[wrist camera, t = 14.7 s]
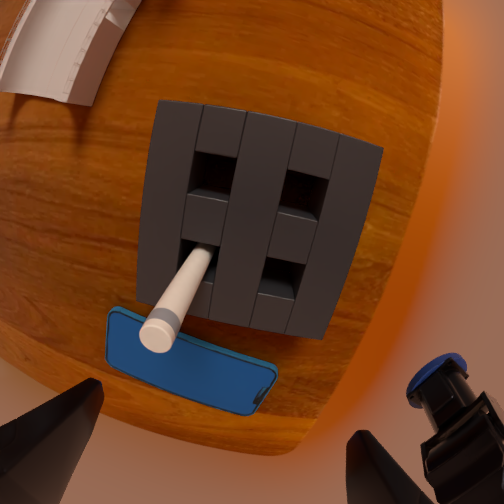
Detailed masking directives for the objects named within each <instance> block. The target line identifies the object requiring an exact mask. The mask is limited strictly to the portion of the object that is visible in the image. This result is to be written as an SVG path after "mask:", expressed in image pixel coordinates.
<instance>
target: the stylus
mask: <svg viewBox="0 0 504 504" xmlns="http://www.w3.org/2000/svg"><path fill="white" fill-rule="evenodd" d="M216 248H217V246H215V245H210V244H205V243H200V242H198V243H197V245H196V246H195V248H194V249H193V251H192V252H191V254H190V255H189V256H188V258H187V259H186V261H185V262H184V264H183V265H182V267H181V268H180V270H179V271H178V273H177V274H176V276H175V277H174V279H173V280H172V282H171V283H170V285H169V286H168V288H167V289H166V291H165V292H164V294H163V295H162V297H161V298H160V300H159V301H158V303H157V304H156V306H155V307H154V309H153V310H152V311H151V313H150V314H149V316H148V317H147V319H146V320H145V322H144V324H143V326H142V328H141V329H140V332H139V337H140V340H141V342H142V344H143V345H144V346H145V347H146V348H147V349H149V350H151V351H153V352H156V353H164V352H167V351H168V350H169V349H170V348H171V347H172V344H173V342H174V341H175V339H176V337H177V334H178V332H179V330H180V326H181V324H182V322H183V319H184V317H185V315H186V313H187V311H188V308H189V306H190V304H191V302H192V300H193V297H194V295H195V293H196V291H197V289H198V287H199V284H200V282H201V280H202V278H203V276H204V274H205V272H206V269H207V267H208V265H209V263H210V261H211V259H212V257H213V255H214V253H215V250H216Z"/></svg>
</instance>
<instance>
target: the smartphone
mask: <svg viewBox="0 0 504 504" xmlns="http://www.w3.org/2000/svg"><path fill="white" fill-rule="evenodd" d="M146 319H147V318H145V317H143V316H140V315H138V314H136V313H134V312H131V311H129V310H127V309H125V308H123V307H120V306H116V307H114V308H112V309H111V311H110V312H109V313H108V316H107V329H106V347H105V359H106V361H107V363H108V364H109V365H110V366H111V367H113V368H114V369H117V370H119V371H121V372H123V373H125V374H127V375H129V376H132V377H134V378H136V379H138V380H141V381H143V382H145V383H148V384H150V385H152V386H155V387H157V388H160V389H162V390H165V391H167V392H170V393H172V394H175V395H178V396H181V397H183V398H186V399H189V400H192V401H195V402H198V403H201V404H204V405H207V406H210V407H213V408H216V409H220V410H223V411H226V412H230V413H233V414H237V415H241V416H250V415H253V414H254V413H255V411H256V410H257V409H258V407H259V406H260V404H261V403H262V401H263V400H264V398H265V397H266V395H267V394H268V392H269V391H270V389H271V388H272V386H273V385H274V383H275V382H276V380H277V378H278V369H277V367H276V366H275V365H274V364H272V363H269V362H266V361H263V360H259V359H256V358H253V357H250V356H247V355H244V354H240V353H237V352H234V351H231V350H228V349H225V348H223V347H220V346H217V345H214V344H211V343H208V342H206V341H203V340H200V339H197V338H195V337H192V336H189V335H187V334H184V333H182V332H178V334H177V337H176V339H175V341H174V342H173V344H172V347H171V348H170V349H169V350H168V351H167V352H164V353H156V352H153V351H151V350H149V349H147V348H146V347H145V346H144V345H143V344H142V342H141V340H140V337H139V332H140V329H141V328H142V326H143V324H144V322H145V320H146Z"/></svg>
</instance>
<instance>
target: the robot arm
mask: <svg viewBox="0 0 504 504" xmlns="http://www.w3.org/2000/svg"><path fill="white" fill-rule="evenodd" d="M468 377H469V375H468V374H467V372H466V371H465V370H464V369H463V368H462V367H461V366H460V365H459V364H458V363H456V362H455V361H454V360H453V359H452V358H451V357H450V358H448V359H447V360H446V361H445V362H444V363H443V364H442V365H440V366H439V367H438V368H437V369H436V370H435V371H434V372H433V373H432V374H431V375H430V376H429V377H428V378H426V379H425V380H424V381H423V382H422V383H421V384H420V385H418V386H417V387H416V388H415V389H414V390H413V391H411V392H410V393H409V394H408V395H407V398H408V400H410V401H412V402H413V403H415V404H417V405H419V406H421V407H423V409H424V411H425V413H426V415H427V417H428V419H429V421H430V423H431V426H432V428H433V430H434V432H435V435H434V436H433V437H431V438H430V439H428V440H427V441H426V442H423V443H422V444H421V445H420V446H421V454H422V461H423V467H424V476H425V478H426V481H427V482H429V484H430V485H431V486H432V487H433V488H434V491H435V495H436V500H437V502H438V503H440V504H504V411H503V410H502V408H501V407H500V405H499V404H498V403H497V401H496V400H495V399H494V398H493V397H492V396H491V395H489V394H488V393H487V392H485V391H483V392H482V393H481V394H480V396H479V397H478V398H477V397H476V395H475V394H474V392H473V391H472V389H471V388H470V386H469V385H468V383H467V382H466V379H467V378H468ZM103 401H104V392H103V388H102V383H101V382H100V381H99V380H96V379H94V378H88V379H86V380H84V381H83V382H81V383H79V384H77V385H76V386H74V387H72V388H70V389H69V390H67V391H65V392H63V393H62V394H60V395H58V396H56V397H54V398H53V399H51V400H49V401H47V402H45V403H44V404H42V405H40V406H38V407H36V408H35V409H33V410H31V411H29V412H27V413H25V414H24V415H22V416H20V417H18V418H17V419H14V420H12V421H10V422H9V423H6V424H4V425H2V426H1V427H0V504H59V503H60V501H61V499H62V496H63V494H64V492H65V490H66V487H67V485H68V482H69V481H70V478H71V476H72V474H73V472H74V470H75V468H76V465H77V463H78V461H79V459H80V457H81V455H82V453H83V451H84V449H85V447H86V445H87V442H88V441H89V439H90V436H91V434H92V432H93V429H94V426H95V423H96V420H97V418H98V415H99V412H100V409H101V407H102V404H103ZM488 411H489V413H488V414H486V413H487V412H488ZM346 490H347V502H348V504H434V503H433V502H432V501H431V500H430V499H429V498H428V497H427V496H426V495H425V494H424V492H423V491H421V489H420V488H419V487H418V486H417V485H416V484H415V483H414V481H413V480H412V479H411V478H410V477H409V476H408V475H407V474H406V473H405V472H404V470H403V469H402V468H401V467H400V466H399V465H398V463H397V462H396V461H395V460H394V459H393V458H392V457H391V455H390V454H389V453H388V452H387V451H386V450H385V449H384V447H382V445H381V444H380V443H379V442H378V441H377V439H376V438H375V437H374V436H373V435H372V434H371V432H370V431H368V430H358V431H356V432H355V434H354V435H353V436H352V437H351V438H350V440H349V441H348V443H347V446H346Z"/></svg>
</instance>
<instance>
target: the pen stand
mask: <svg viewBox="0 0 504 504" xmlns="http://www.w3.org/2000/svg"><path fill="white" fill-rule="evenodd" d="M383 149H384V148H382V147H380V146H377V145H374V144H371V143H369V142H366V141H363V140H360V139H357V138H354V137H351V136H347V135H344V134H340V133H338V132H334V131H331V130H328V129H324V128H321V127H317V126H313V125H310V124H306V123H302V122H297V121H294V120H289V119H285V118H281V117H276V116H272V115H267V114H262V113H257V112H252V111H248V112H247V111H246V110H240V109H235V108H228V107H222V106H215V105H208V104H206V105H204V104H200V103H191V102H182V101H171V100H159V101H158V106H157V110H156V115H155V120H154V125H153V130H152V136H151V142H150V147H149V153H148V160H147V166H146V173H145V181H144V189H143V197H142V206H141V217H140V228H139V242H138V259H137V287H136V301H138V302H141V303H145V304H149V305H153V306H156V304H157V303H158V301H159V300H160V298H161V297H162V295H163V294H164V292H165V291H166V289H167V288H168V286H169V285H170V283H171V282H172V280H173V279H174V277H175V276H176V274H177V273H178V271H179V270H180V268H181V267H182V265H183V264H184V262H185V261H186V259H187V258H188V256H189V255H190V254H191V252H192V249H193V242H194V241H196V242H200V243H205V244H210V245H215V246H220V245H221V246H220V251H219V257H215V256H213V257H212V259H211V261H210V263H209V265H208V267H207V269H206V272H205V274H204V276H203V278H202V280H201V282H200V284H199V287H198V289H197V291H196V293H195V295H194V297H193V300H192V302H191V304H190V306H189V308H188V311H187V313H186V314H188V315H192V316H197V317H201V318H206V319H210V320H214V321H219V322H223V323H228V324H233V325H238V326H243V327H249V328H253V329H259V330H264V331H270V332H275V333H281V334H286V335H292V336H298V337H305V338H311V339H318V340H322V339H323V336H324V334H325V332H326V329H327V327H328V324H329V322H330V319H331V317H332V314H333V312H334V309H335V307H336V304H337V302H338V299H339V296H340V294H341V291H342V288H343V285H344V283H345V280H346V277H347V274H348V271H349V269H350V266H351V263H352V260H353V257H354V254H355V251H356V248H357V245H358V242H359V238H360V235H361V232H362V229H363V226H364V222H365V219H366V215H367V212H368V208H369V205H370V201H371V198H372V194H373V190H374V187H375V183H376V179H377V175H378V171H379V167H380V163H381V158H382V154H383ZM208 154H215V155H221V156H226V157H231V158H237V163H236V168H235V173H234V178H233V182H232V188H231V190H229V189H224V188H219V187H214V186H208V185H203V180H204V175H205V169H206V164H207V159H208ZM287 169H288V170H292V171H296V172H300V173H304V174H308V175H312V176H315V179H314V183H313V187H312V191H311V195H310V199H309V203H308V207H306V206H302V205H298V204H294V203H290V202H285V201H281V200H280V197H281V193H282V189H283V185H284V180H285V176H286V172H287ZM266 256H267V257H271V258H276V259H281V260H286V261H290V262H293V263H292V267H291V270H290V272H287V271H282V270H277V269H272V268H267V267H264V264H265V260H266Z"/></svg>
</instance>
